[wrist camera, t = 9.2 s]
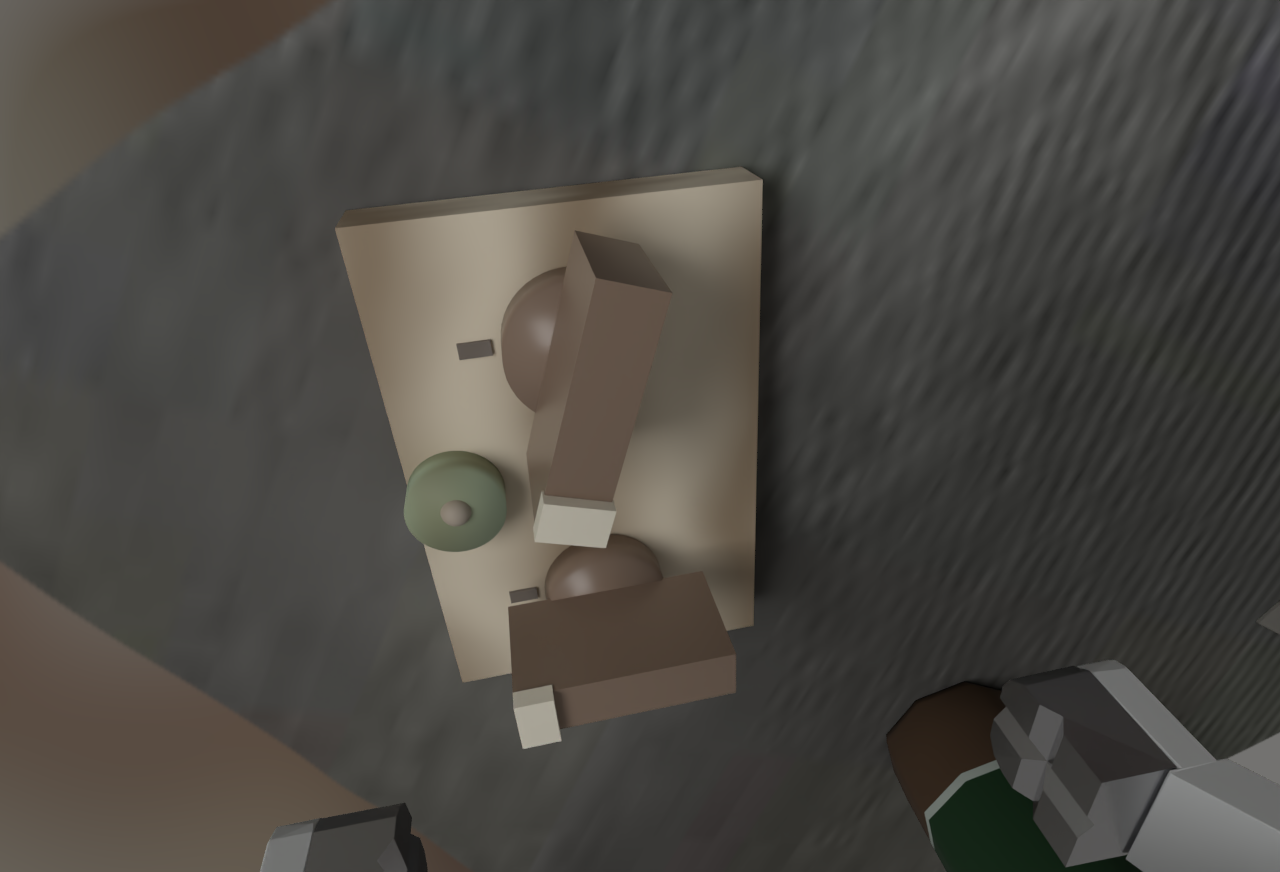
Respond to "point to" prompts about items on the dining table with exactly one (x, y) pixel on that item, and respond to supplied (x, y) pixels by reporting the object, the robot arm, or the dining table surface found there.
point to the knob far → (614, 641)
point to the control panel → (501, 424)
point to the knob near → (583, 379)
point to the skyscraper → (1271, 619)
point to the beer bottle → (971, 788)
